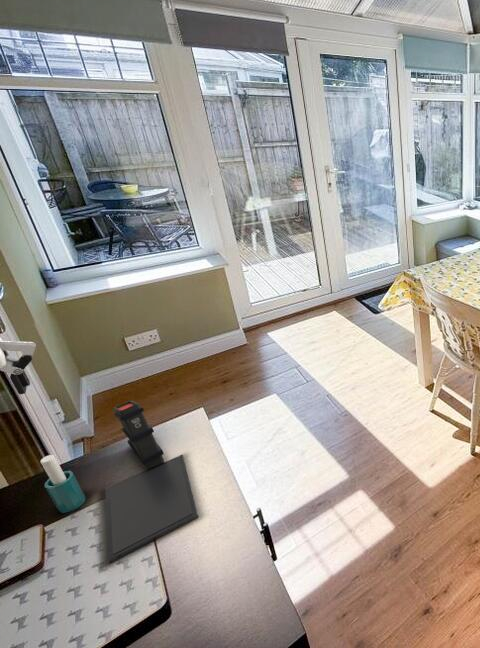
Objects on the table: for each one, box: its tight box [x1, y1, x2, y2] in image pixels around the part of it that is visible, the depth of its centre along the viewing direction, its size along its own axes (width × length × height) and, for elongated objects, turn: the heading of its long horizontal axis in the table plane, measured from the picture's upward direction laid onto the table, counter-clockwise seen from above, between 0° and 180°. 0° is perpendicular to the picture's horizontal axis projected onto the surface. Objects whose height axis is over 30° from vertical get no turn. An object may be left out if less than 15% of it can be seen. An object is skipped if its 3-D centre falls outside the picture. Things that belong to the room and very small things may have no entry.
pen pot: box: [44, 470, 87, 514], centre depth 81 cm, size 4×4×7 cm
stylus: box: [39, 454, 67, 486], centre depth 80 cm, size 2×2×12 cm
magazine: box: [113, 400, 165, 470], centre depth 92 cm, size 4×13×15 cm, turn 54°
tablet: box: [104, 454, 199, 564], centre depth 83 cm, size 13×19×1 cm
